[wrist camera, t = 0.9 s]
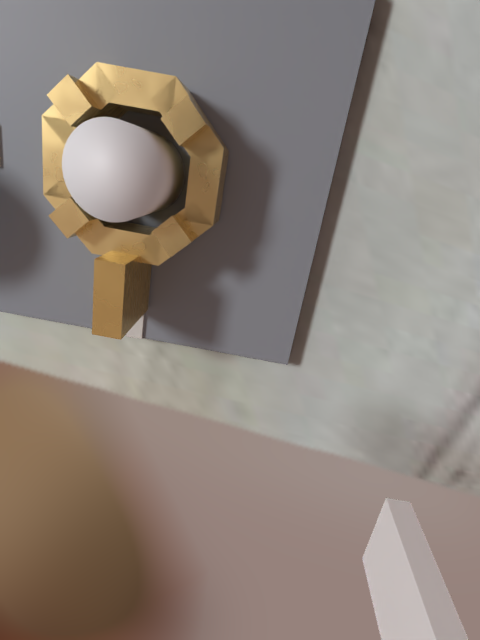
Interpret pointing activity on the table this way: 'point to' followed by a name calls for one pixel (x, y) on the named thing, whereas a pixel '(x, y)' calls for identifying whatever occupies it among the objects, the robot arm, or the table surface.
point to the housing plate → (251, 113)
